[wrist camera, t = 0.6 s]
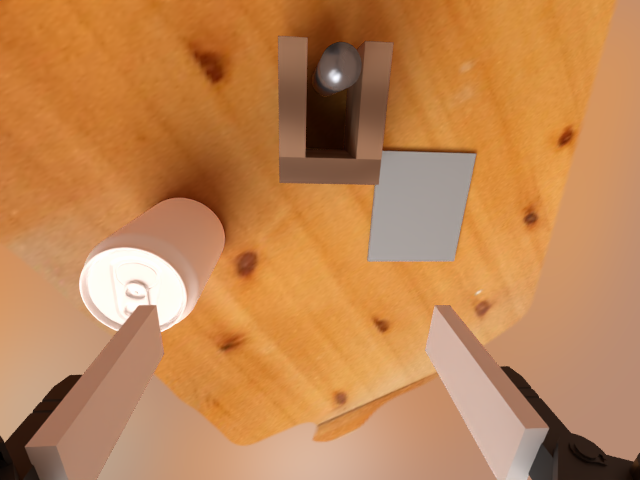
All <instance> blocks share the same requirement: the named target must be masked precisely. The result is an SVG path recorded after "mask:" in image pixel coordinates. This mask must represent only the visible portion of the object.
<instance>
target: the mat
mask: <svg viewBox="0 0 640 480" xmlns="http://www.w3.org/2000/svg"><path fill="white" fill-rule="evenodd" d="M475 158H476V154H475V153H447V152H413V151H382V158H381V168H380V178H379V185H375V189H374V199H373V209H372V219H371V229H370V239H369V249H368V259H367V260H368V261H454V258H455V253H456V249H457V244H458V239H459V234H460V230H461V225H462V220H463V215H464V210H465V206H466V201H467V196H468V191H469V187H470V182H471V177H472V172H473V167H474V163H475Z"/></svg>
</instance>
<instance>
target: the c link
mask: <svg viewBox="0 0 640 480" xmlns="http://www.w3.org/2000/svg"><path fill="white" fill-rule="evenodd" d="M307 44H308V38H307V37H290V36H278V77H279V174H280V183H314V184H364V185H379V178H380V168H381V158H382V149H383V139H384V129H385V120H386V110H387V101H388V91H389V81H390V72H391V62H392V53H393V43H392V42H375V41H365V42H364V43H363V44H362V45H361V46H360V47H359V48H358V49H357V51H358V53H359V55H360V57H361V62H362V68H361V73H360V76H359V78H358V79H357V81H356V82H355V83H354V84H353V85H352V86H350V87H348V88H347V99H346V116H345V132H344V148H343V149H312V148H306V97H307Z"/></svg>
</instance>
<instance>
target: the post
mask: <svg viewBox="0 0 640 480" xmlns="http://www.w3.org/2000/svg"><path fill="white" fill-rule="evenodd" d="M361 68H362V62H361V57H360V55H359V53H358V51H357V50H356V49H355V48H354V47H353V46H352V45H350V44H348V43H345V42H337V43H334V44H332V45H330V46H329V47H328V48H327V49H326V50H325V52H324V53H323V55H322V57H321V59H320V61H319V63H318V65H317V67H316V69H315V71H314V73H313V75H312V86H313V88H314V90H315V91H316V92H317V93H318V94H319V95H321V96H331V95H333V94H335V93H337V92H340V91H342V90H344V89H346V88H348V87H350V86H352V85H353V84H354V83H355V82H356V81H357V79H358V78H359V76H360V73H361Z"/></svg>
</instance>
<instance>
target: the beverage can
mask: <svg viewBox="0 0 640 480" xmlns="http://www.w3.org/2000/svg"><path fill="white" fill-rule="evenodd" d="M224 244H225V234H224V229H223V226H222V224H221V222H220V220H219V219H218V217H217V216H216V215H215V214H214V212H213V211H212V210H210V209H209V208H208V207H207V206H205V205H203V204H202V203H200V202H197V201H195V200H192V199H187V198H171V199H167V200H164V201H162V202H160V203H158V204H156V205H155V206H153V207H152V208H150V209H149V210H147V211H146V212H144V213H143V214H142V215H140V216H139V217H137V218H136V219H134V220H133V221H131V222H130V223H128V224H127V225H125V226H124V227H122V228H121V229H119V230H118V231H116V232H115V233H113V234H112V235H110V236H109V237H107V238H106V239H104V240H103V241H102V242H100V243H99V244H98V245H97V246H95V248H94V249H93V250H92V251H91V252H90V254H89V255H88V257H87V259H86V262H85V265H84V268H83V270H82V272H81V276H80V281H79V288H80V293H81V297H82V299H83V302H84V304H85V305H86V307H87V308H88V310H89V311H90V312H91V313H92V314H93V316H94V317H96V318H97V319H98V320H99V321H100V322H102V323H103V324H105V325H106V326H108V327H110V328H112V329H114V330H117V331H118V330H119V329H120V328H121V327H122V325H123V324H124V323H125V322H126V320H127V319H128V318H129V317H130V315H131V314H132V313H133V312H134V310H135V309H136V308H137V307H138V305H156V306H157V312H158V318H159V325H160V331H161V332H162V331H164V330H167V329H168V328H170V327H172V326H173V325H174V324H176V323H178V322H180V321H181V320H183V319H184V318H185V317H186V316H187V315H188V314H189V313H190V312H191V311H192V310H193V308H194V306H195V305H196V303H197V301H198V299H199V297H200V295H201V293H202V291H203V289H204V287H205V285H206V283H207V281H208V279H209V277H210V275H211V273H212V271H213V269H214V267H215V265H216V263H217V261H218V259H219V257H220V255H221V253H222V251H223V248H224Z"/></svg>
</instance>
